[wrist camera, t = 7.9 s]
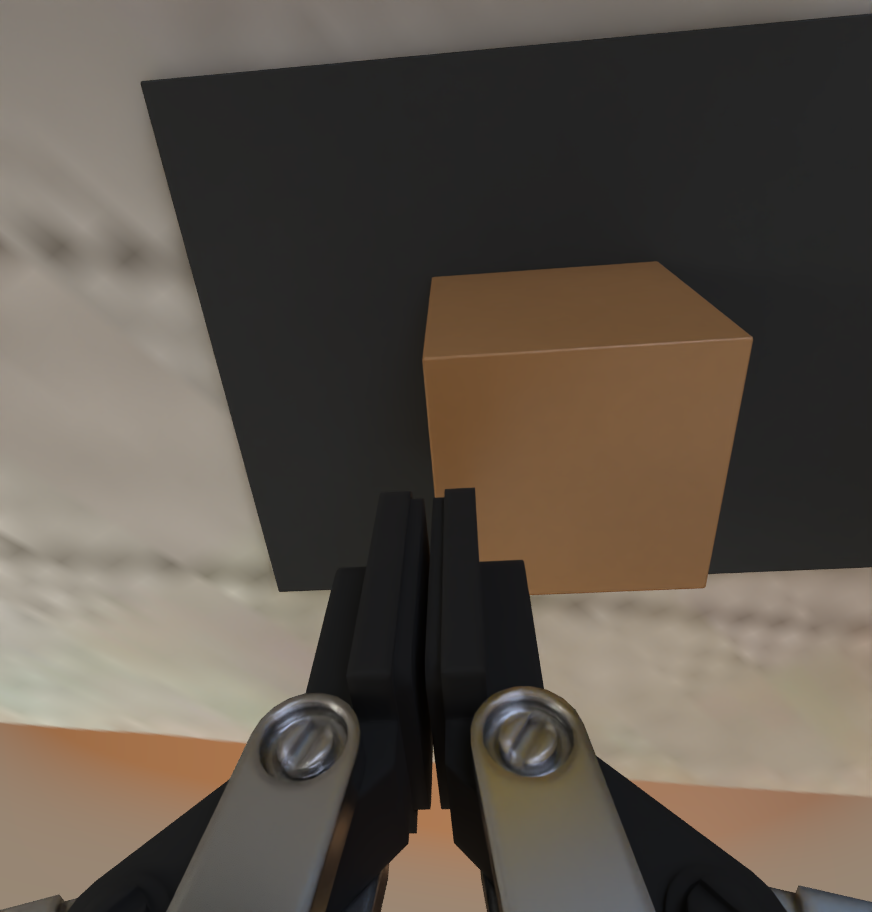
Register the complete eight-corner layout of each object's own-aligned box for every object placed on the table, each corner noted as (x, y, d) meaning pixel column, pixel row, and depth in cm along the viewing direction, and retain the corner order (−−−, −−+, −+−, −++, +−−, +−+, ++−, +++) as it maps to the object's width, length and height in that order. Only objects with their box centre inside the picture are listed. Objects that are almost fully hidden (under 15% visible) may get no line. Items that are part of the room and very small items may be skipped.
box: (444, 599, 14) (706, 589, 14) (421, 357, 11) (756, 337, 11) (446, 466, 20) (638, 456, 19) (431, 276, 17) (658, 260, 16)
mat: (282, 581, 23) (278, 592, 22) (150, 82, 15) (139, 81, 14) (983, 551, 21) (996, 562, 21) (1254, -21, 13) (1287, -25, 13)
